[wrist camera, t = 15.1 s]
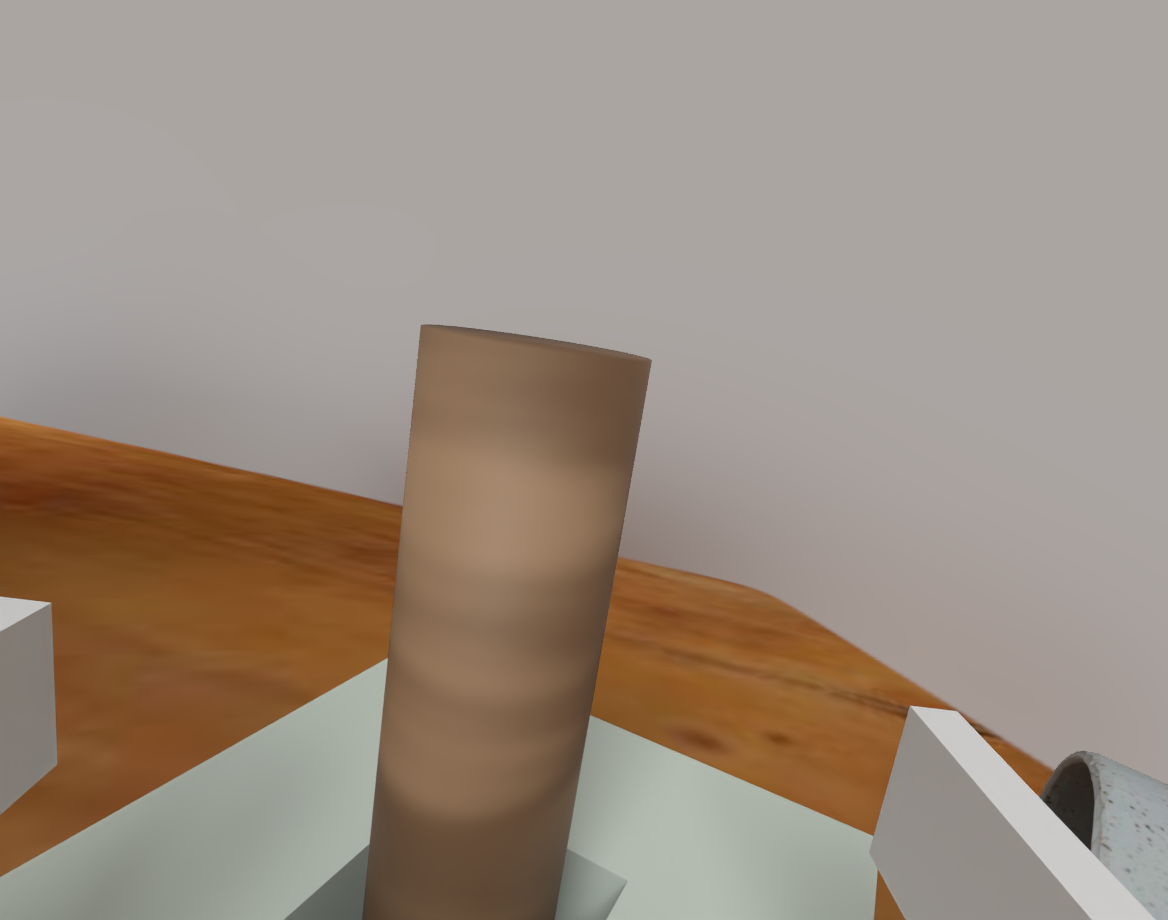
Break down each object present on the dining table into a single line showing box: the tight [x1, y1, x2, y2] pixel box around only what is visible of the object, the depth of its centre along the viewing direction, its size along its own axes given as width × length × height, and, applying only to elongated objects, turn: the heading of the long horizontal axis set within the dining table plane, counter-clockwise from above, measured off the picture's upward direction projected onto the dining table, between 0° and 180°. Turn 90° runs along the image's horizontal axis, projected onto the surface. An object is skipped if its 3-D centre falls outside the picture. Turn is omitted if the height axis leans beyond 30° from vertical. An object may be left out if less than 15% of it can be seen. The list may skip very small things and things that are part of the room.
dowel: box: [362, 325, 652, 920], centre depth 13 cm, size 4×4×16 cm
